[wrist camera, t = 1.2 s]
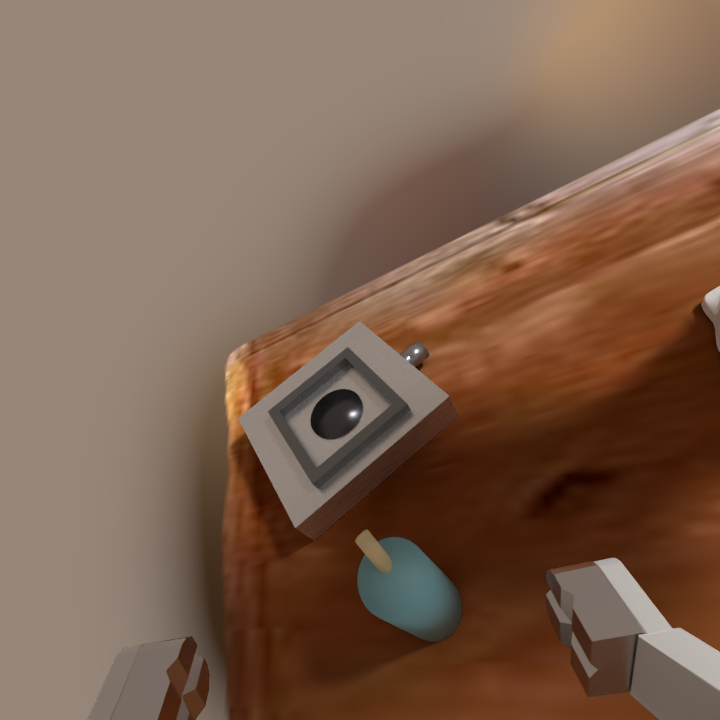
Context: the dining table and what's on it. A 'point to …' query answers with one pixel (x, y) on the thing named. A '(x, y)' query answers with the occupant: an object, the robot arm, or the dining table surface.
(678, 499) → the dining table surface
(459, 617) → the spout can
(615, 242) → the dining table surface
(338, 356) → the ball socket block
